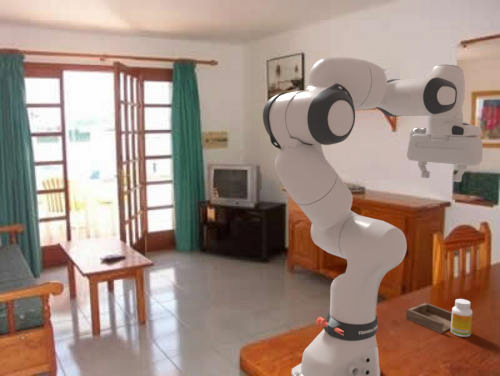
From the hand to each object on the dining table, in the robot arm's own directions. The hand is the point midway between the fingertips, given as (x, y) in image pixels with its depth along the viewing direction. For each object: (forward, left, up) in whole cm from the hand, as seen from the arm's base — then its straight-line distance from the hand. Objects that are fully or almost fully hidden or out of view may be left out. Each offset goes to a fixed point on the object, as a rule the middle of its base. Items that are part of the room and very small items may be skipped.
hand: (440, 179), depth 122 cm
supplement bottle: (+10, -4, -46) cm, 47 cm away
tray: (+10, +5, -45) cm, 47 cm away
